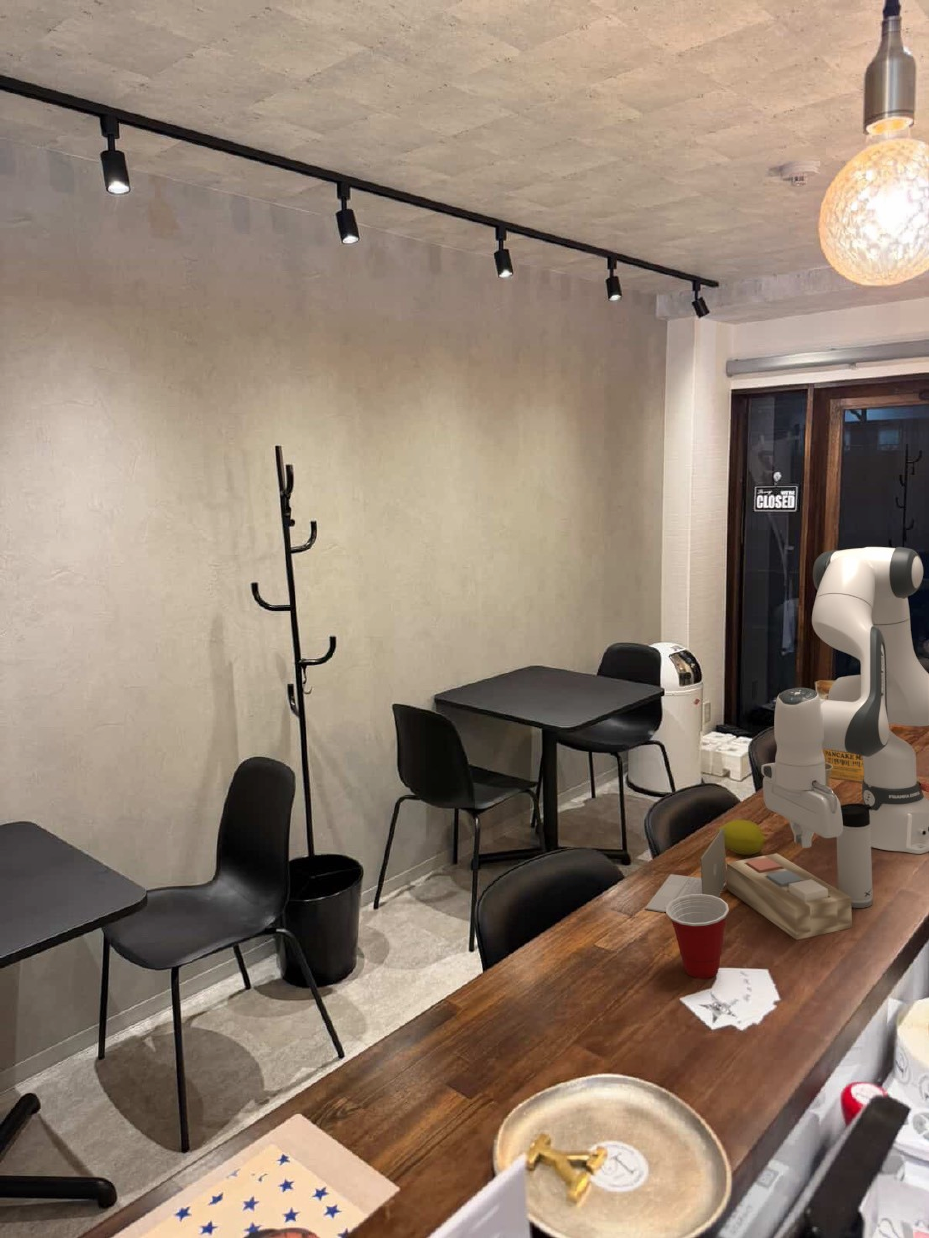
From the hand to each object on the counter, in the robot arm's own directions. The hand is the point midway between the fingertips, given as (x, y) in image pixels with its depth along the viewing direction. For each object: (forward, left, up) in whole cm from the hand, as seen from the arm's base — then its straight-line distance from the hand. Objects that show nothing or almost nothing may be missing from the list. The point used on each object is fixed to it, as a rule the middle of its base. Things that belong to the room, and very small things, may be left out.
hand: (802, 845), depth 169 cm
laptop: (+15, -20, -16) cm, 29 cm away
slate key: (0, -7, -12) cm, 14 cm away
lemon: (-8, -35, -16) cm, 39 cm away
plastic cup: (+27, +8, -16) cm, 32 cm away
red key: (0, -14, -12) cm, 19 cm away
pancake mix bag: (-64, -70, -16) cm, 96 cm away
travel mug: (-14, -4, -16) cm, 22 cm away
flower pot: (-46, -61, -16) cm, 78 cm away
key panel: (0, -7, -16) cm, 17 cm away
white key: (0, +1, -11) cm, 11 cm away
